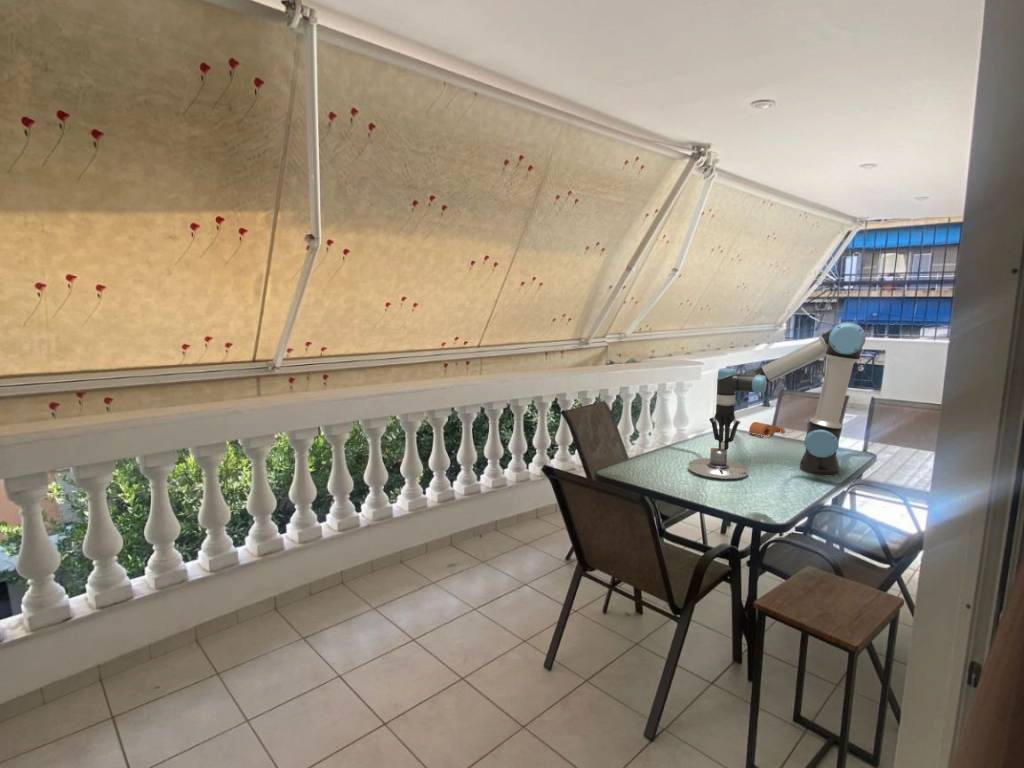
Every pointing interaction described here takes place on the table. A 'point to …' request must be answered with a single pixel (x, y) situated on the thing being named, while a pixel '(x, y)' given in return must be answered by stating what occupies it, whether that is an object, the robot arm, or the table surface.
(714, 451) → the cover
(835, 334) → the robot arm
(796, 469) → the table surface
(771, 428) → the orange elongated piece
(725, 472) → the turntable
